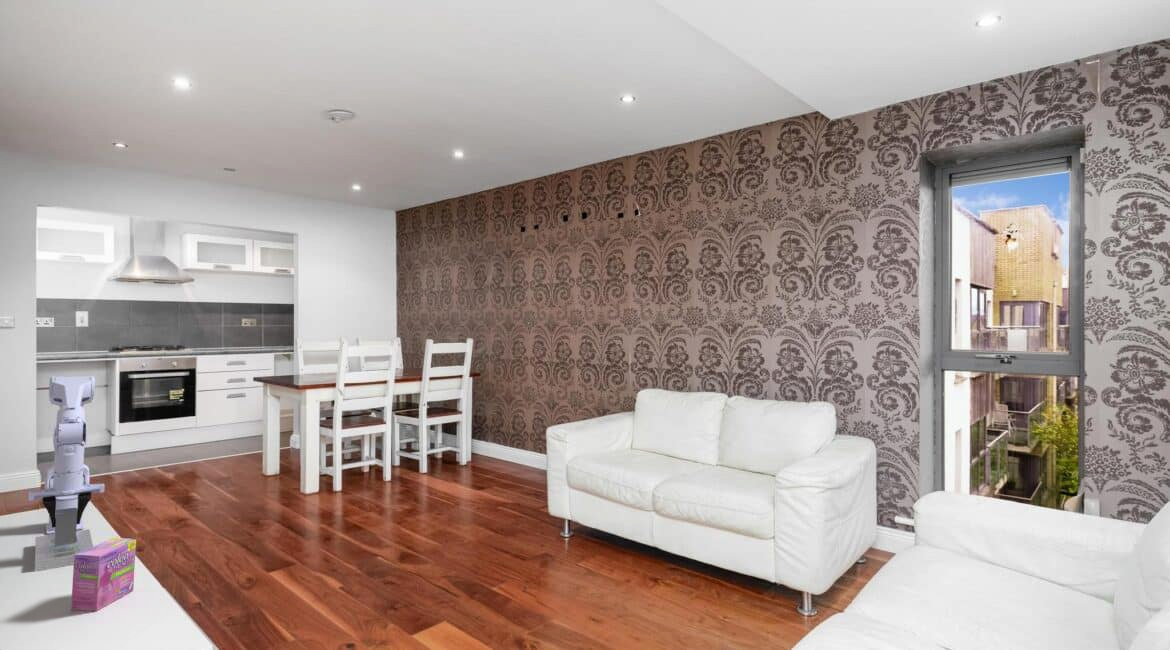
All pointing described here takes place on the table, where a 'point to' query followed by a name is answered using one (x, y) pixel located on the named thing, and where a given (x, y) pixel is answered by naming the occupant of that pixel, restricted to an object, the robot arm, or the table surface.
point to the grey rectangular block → (65, 526)
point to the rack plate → (59, 550)
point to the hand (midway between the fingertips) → (65, 524)
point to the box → (103, 574)
